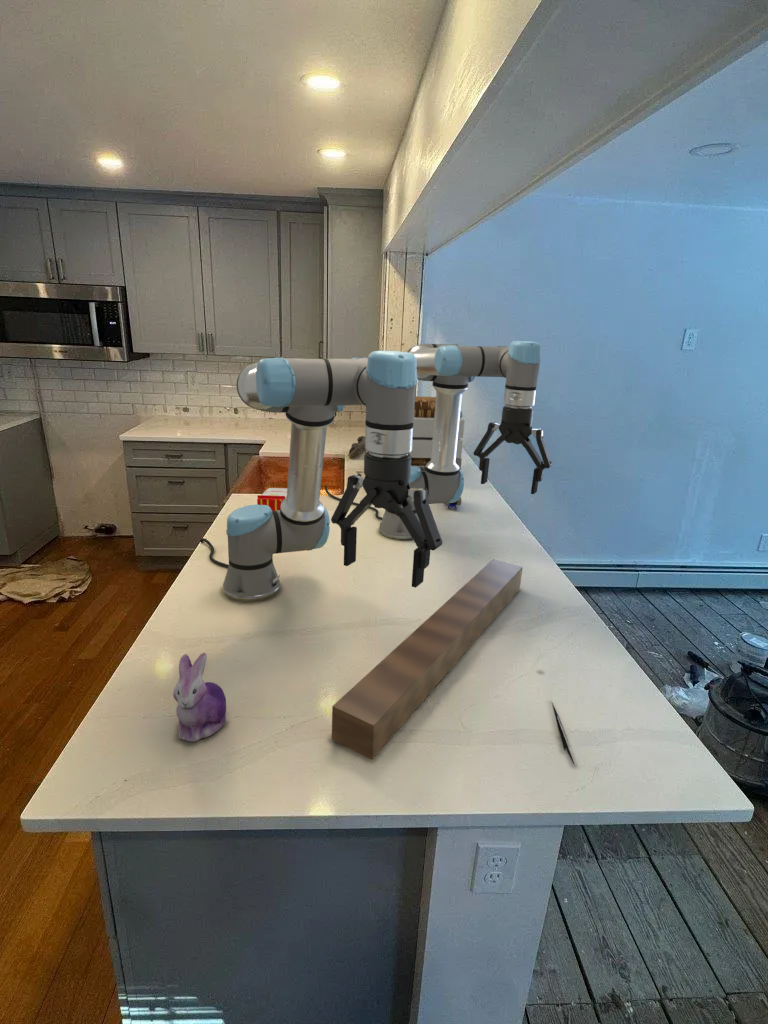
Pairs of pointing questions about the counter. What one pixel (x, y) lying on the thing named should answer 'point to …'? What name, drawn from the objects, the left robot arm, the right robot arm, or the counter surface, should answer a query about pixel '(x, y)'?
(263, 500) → the toy
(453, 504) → the figurine character
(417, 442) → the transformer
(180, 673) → the figurine
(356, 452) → the fossil
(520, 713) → the counter surface
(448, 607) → the long beam
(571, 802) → the counter surface
